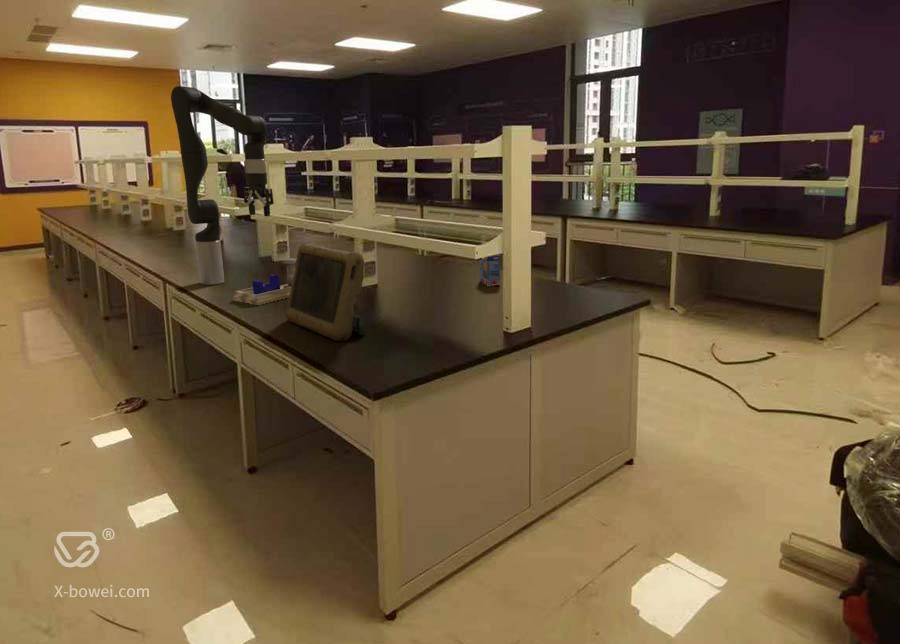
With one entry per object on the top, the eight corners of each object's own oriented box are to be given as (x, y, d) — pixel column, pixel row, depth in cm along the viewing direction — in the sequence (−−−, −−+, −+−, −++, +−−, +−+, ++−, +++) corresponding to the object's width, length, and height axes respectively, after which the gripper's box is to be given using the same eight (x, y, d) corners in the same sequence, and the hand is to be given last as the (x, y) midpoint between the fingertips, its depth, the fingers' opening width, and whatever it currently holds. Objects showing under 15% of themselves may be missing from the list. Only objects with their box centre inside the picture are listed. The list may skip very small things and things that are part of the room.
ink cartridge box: (478, 282, 260) (478, 246, 256) (491, 281, 261) (491, 245, 257) (487, 287, 251) (487, 249, 247) (500, 285, 252) (501, 249, 248)
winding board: (233, 300, 233) (229, 267, 229) (291, 286, 254) (288, 256, 250) (258, 305, 225) (255, 271, 222) (315, 291, 246) (313, 259, 243)
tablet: (277, 322, 204) (270, 243, 197) (314, 314, 213) (309, 238, 206) (338, 344, 182) (333, 256, 175) (376, 334, 191) (373, 250, 184)
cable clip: (270, 290, 241) (268, 274, 240) (280, 291, 240) (279, 275, 238) (250, 297, 231) (248, 281, 229) (261, 298, 229) (259, 281, 227)
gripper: (235, 171, 242) (239, 215, 246) (260, 172, 234) (264, 217, 238) (252, 170, 248) (255, 213, 252) (276, 171, 240) (280, 215, 244)
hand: (259, 215), depth 245 cm, fingers open, 8 cm apart
